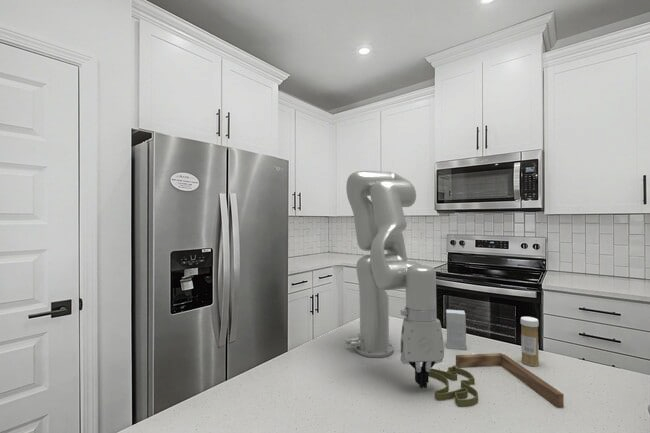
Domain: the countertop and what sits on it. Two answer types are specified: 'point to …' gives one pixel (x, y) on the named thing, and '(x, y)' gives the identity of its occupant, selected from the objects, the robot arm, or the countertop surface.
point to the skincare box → (456, 329)
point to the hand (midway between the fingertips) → (421, 385)
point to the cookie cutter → (456, 394)
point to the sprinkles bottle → (529, 341)
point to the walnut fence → (516, 370)
